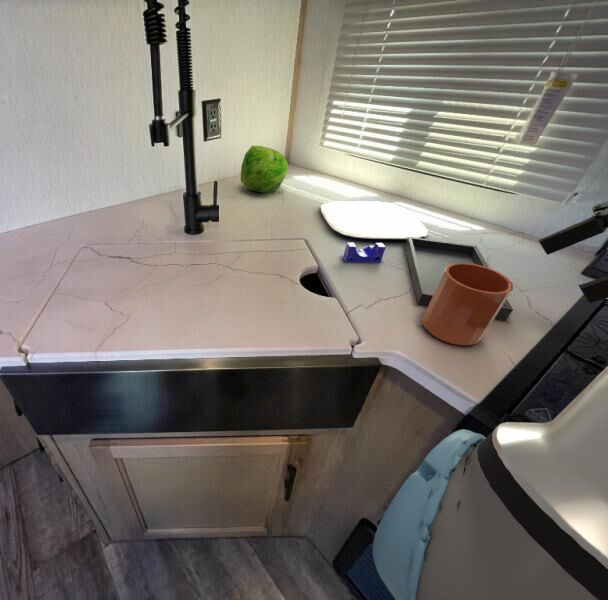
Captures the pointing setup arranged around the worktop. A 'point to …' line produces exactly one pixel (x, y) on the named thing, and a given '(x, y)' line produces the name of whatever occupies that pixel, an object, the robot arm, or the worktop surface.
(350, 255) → the cable holder
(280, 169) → the lettuce
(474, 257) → the tray
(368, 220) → the plate
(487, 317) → the terracotta plant pot
